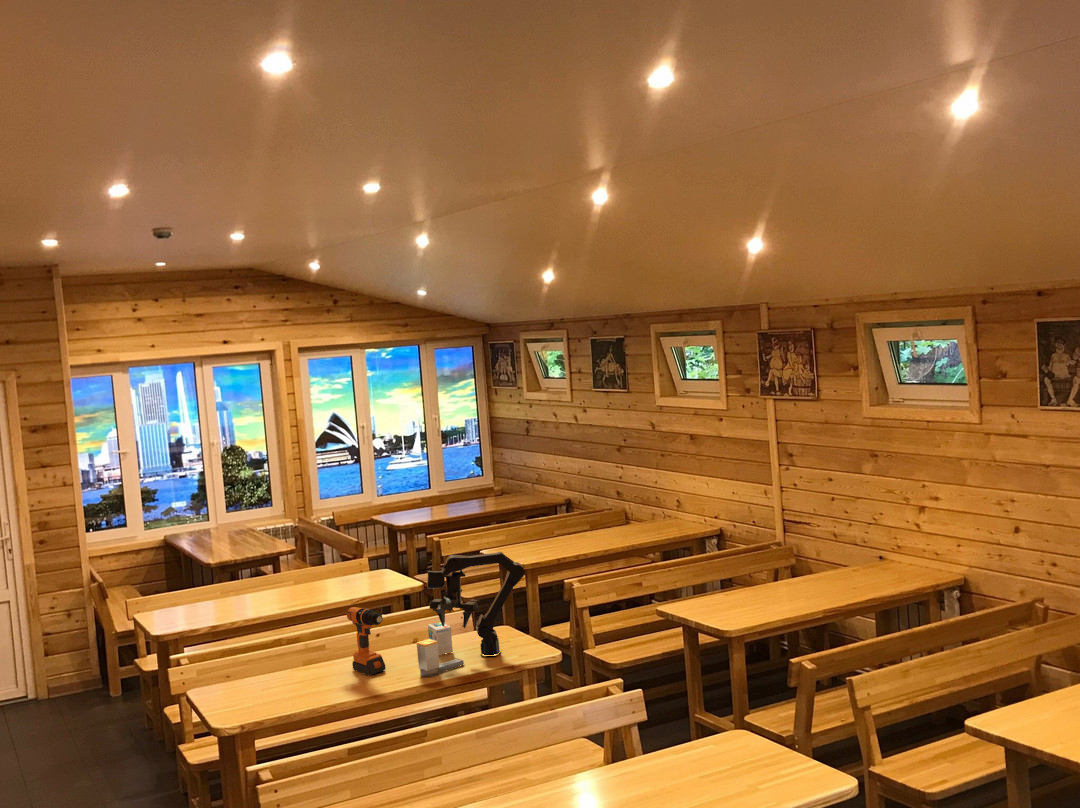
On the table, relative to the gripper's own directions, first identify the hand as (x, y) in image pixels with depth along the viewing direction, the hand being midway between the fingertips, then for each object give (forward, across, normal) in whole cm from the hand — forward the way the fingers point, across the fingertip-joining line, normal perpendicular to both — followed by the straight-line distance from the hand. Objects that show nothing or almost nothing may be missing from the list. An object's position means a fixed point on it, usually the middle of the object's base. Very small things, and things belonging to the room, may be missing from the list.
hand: (453, 627), depth 404 cm
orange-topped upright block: (+11, -2, -19) cm, 22 cm away
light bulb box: (+14, -10, +9) cm, 19 cm away
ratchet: (+13, +1, -14) cm, 19 cm away
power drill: (+16, -26, -18) cm, 36 cm away
